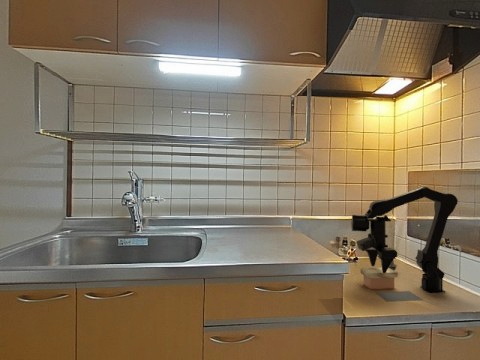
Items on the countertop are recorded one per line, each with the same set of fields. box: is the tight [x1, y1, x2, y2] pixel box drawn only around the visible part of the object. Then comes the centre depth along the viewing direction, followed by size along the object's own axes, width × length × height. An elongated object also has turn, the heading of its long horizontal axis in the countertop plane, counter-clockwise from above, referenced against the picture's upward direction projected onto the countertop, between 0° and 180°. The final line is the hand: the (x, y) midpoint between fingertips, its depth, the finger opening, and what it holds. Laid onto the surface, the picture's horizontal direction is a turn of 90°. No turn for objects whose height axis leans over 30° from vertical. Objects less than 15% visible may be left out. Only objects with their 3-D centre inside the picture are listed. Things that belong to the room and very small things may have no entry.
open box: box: [363, 275, 395, 290], centre depth 130 cm, size 10×6×5 cm, turn 94°
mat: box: [374, 290, 424, 303], centre depth 119 cm, size 14×9×1 cm, turn 94°
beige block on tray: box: [360, 267, 398, 278], centre depth 130 cm, size 12×7×2 cm, turn 94°
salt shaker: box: [388, 260, 398, 271], centre depth 149 cm, size 6×6×12 cm
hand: (378, 269), depth 130 cm, fingers open, 9 cm apart
